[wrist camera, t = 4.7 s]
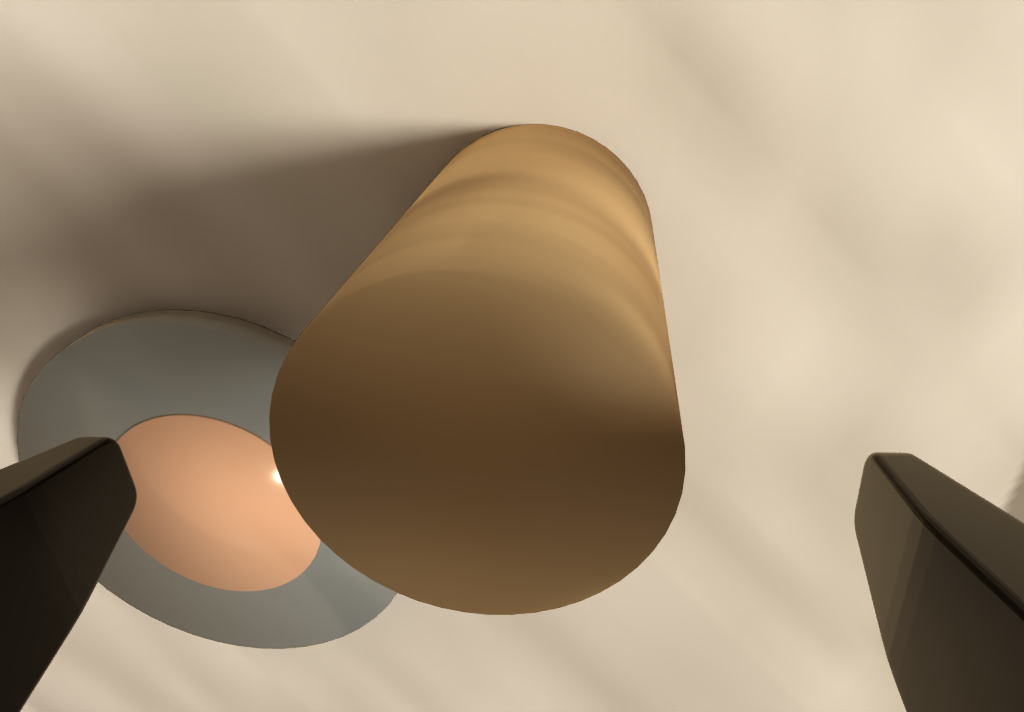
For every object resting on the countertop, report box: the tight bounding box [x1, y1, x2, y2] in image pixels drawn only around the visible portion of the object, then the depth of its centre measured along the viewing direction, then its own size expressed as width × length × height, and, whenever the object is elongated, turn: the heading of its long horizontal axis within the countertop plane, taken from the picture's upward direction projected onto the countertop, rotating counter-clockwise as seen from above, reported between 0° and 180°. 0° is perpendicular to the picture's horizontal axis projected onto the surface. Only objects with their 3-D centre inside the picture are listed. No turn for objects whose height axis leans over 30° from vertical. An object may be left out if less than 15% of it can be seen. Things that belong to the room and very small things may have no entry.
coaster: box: [17, 310, 397, 649], centre depth 20 cm, size 11×11×1 cm
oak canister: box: [269, 124, 685, 615], centre depth 12 cm, size 5×5×8 cm
